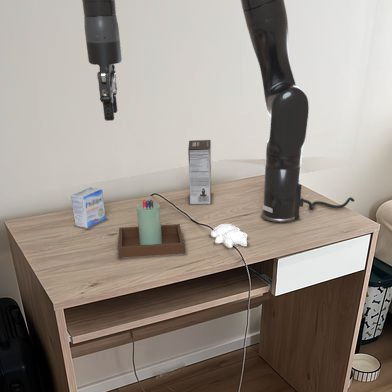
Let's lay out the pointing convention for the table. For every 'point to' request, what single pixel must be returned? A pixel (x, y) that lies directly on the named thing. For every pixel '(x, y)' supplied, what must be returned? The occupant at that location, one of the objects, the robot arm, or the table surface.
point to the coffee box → (200, 171)
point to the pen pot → (149, 223)
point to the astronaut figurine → (229, 235)
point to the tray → (170, 244)
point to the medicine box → (88, 207)
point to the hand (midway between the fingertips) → (111, 116)
